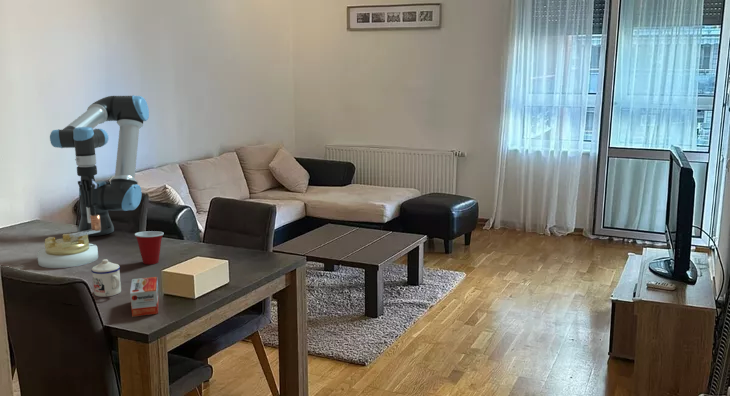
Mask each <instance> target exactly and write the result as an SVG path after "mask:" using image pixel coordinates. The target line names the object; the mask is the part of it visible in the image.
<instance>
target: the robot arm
mask: <svg viewBox="0 0 730 396" xmlns="http://www.w3.org/2000/svg"><path fill="white" fill-rule="evenodd" d="M147 102H148V101H146V99H145V98H144V97H143V96H141V95H134V94H133V95H109V96H105V97H102V98H100V99H98V100H96V101H94V102H93V103H92V104H90V105H89V106H88V107H87V109H86V111H85V112H83V113H82V114H81V115H80V116H78V117H77V118H75V119H74V120H73V121H72V122H70V123H69V124H68V125H67V126H65V127H64V128H62V129H53V130H51V132H50V134H49V141H50V144H51V146H52V147H53V148H60V149H71V148H72V149H73V148H74V151H75V159H74V160H75V162H76V166H77V167H76V174H77V176H79V177H80V180H78V181H77V184H78V187H79V188H78V197H79V207H80V216H81V217H80V221H79V225H78V231H77V232H81V231H86V230H91V229H92V228H91V217H90V216H91V215H100V222H101V230H100V232H97V233H93V234H88V237H98V236H103V235H104V236H105V235H109V234H111V233H113V232H114V231H115V227H114V224H113V222H112V220H111V217H110V215H109V211H124V212H126V211H135V210H136V209H137V208H138V207H140V206H139V205H140V203H141V200H142V194H143V193H142V187H141V186H140V185H139V182H138V180H136V178H135V177H136V167H137V156H138V144H139V136H140V135H139V134H140V129H141V128H143V126H144V122H147V121H148V120H149V117H150V111H149V106H148V103H147ZM112 121H113V122H116V124H117V125H118V126H119V131H118V141H117V152H116V160H115V170H114V171H115V172H114V177H112V178H111V179H110V184H107V182H106V180H98V181H97V180H96V178H95V176H96V175H97V174H98V169H97V168H98V166H97V156H96V155H97V154H96V149H97V148H103V146H105V145H107V143H108V142H109V135H108V133H107V131H106V130H105V129H103V128H96V127H98V125H100V124H101V125H102V124H104V123H105V122H112Z"/></svg>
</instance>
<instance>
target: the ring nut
mask: <svg viewBox="0 0 730 396" xmlns="http://www.w3.org/2000/svg"><path fill="white" fill-rule="evenodd" d="M90 217H91V228H92V229H91V230H86V231H81V232H79V231H77V232H72V233H63V234H62V238H56V237H55V236H47V238H45V239H44V248H45V251H46V254H49V255H71V254H77V253H81V252H84V251H86V250H88V249H89V244H90V241H89V236H88V234H93V233H97V232H100V230H101V222H100V215H91V216H90Z"/></svg>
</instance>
